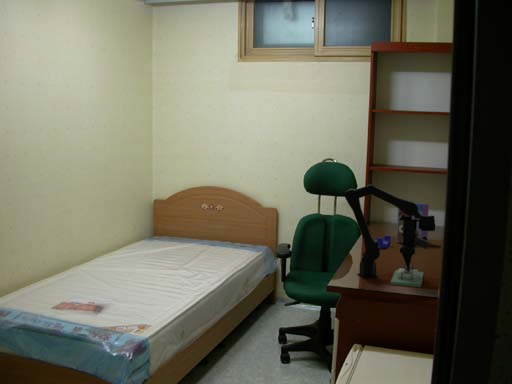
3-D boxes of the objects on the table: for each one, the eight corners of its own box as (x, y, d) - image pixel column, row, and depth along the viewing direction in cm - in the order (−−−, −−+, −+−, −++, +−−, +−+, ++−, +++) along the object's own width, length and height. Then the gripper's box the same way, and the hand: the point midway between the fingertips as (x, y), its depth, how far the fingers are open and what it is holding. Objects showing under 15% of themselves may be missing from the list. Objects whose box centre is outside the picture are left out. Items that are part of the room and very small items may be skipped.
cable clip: (383, 249, 303) (383, 238, 302) (376, 248, 305) (376, 237, 305) (392, 246, 312) (392, 236, 311) (385, 245, 315) (385, 235, 314)
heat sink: (416, 280, 222) (416, 272, 222) (396, 278, 225) (397, 270, 224) (418, 274, 234) (418, 266, 234) (399, 272, 237) (399, 264, 237)
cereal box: (396, 243, 323) (398, 203, 321) (396, 241, 328) (397, 202, 326) (427, 244, 319) (428, 204, 318) (426, 243, 324) (427, 203, 322)
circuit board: (420, 287, 216) (421, 284, 216) (390, 284, 220) (390, 281, 220) (423, 274, 238) (423, 272, 238) (395, 272, 242) (395, 269, 242)
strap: (410, 274, 223) (410, 271, 223) (403, 273, 224) (403, 271, 224) (412, 266, 234) (412, 264, 234) (405, 265, 235) (405, 263, 235)
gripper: (428, 235, 219) (427, 272, 220) (429, 228, 236) (428, 263, 237) (400, 233, 222) (399, 270, 224) (403, 227, 240) (402, 261, 241)
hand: (408, 266), depth 231 cm, fingers closed on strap
